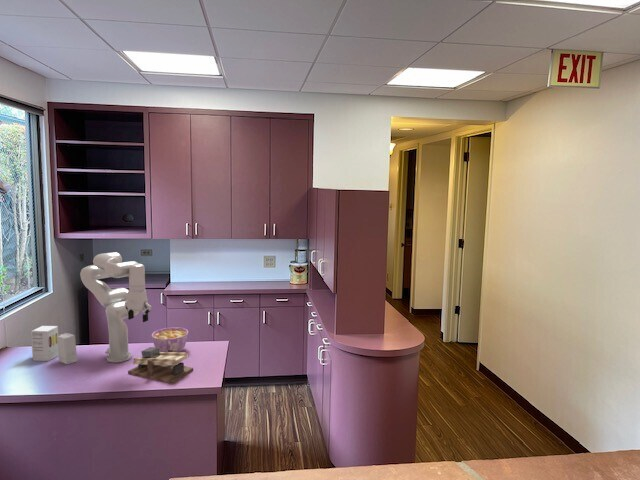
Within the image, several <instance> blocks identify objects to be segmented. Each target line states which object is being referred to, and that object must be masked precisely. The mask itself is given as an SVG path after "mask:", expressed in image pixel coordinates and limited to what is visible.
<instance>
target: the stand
mask: <svg viewBox="0 0 640 480" xmlns="http://www.w3.org/2000/svg"><path fill="white" fill-rule="evenodd" d="M168 352H173V350H171V349H169V350H168ZM147 364H148V365H143V364H137V365H136V366H134V367H133V368H131V369H129V370H127V373H128V375H132V376H136V377H142V378H147V379H151V380H155V381H159V382H164V383H167V384H174V383H176V382H177V381H180V380H181V379H183V378H184V377H185V376H187V375H189V374H191V373H192V372H194V367H190V366H185V362H182V361H181V362H179V363H177V364H176V365H152V360H147Z"/></svg>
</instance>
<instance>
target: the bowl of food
mask: <svg viewBox="0 0 640 480" xmlns="http://www.w3.org/2000/svg"><path fill="white" fill-rule="evenodd" d="M188 335H189V330H188V329H187V328H184V327H178V326H177V327H176V326H175V327H165V328H160V329H157V330H155V331H153V333H151V338H152V342H153V345H154V347H159V352H168V350H169V349H171V350H173V352H182V350H184V349H185V347H186V344H187V340H188Z"/></svg>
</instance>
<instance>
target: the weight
mask: <svg viewBox="0 0 640 480" xmlns="http://www.w3.org/2000/svg"><path fill="white" fill-rule="evenodd" d="M158 356H160V352H159V347H155V346H153V347H147V348H145V349H143V350H141V357H142V358H156V357H158Z"/></svg>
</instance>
